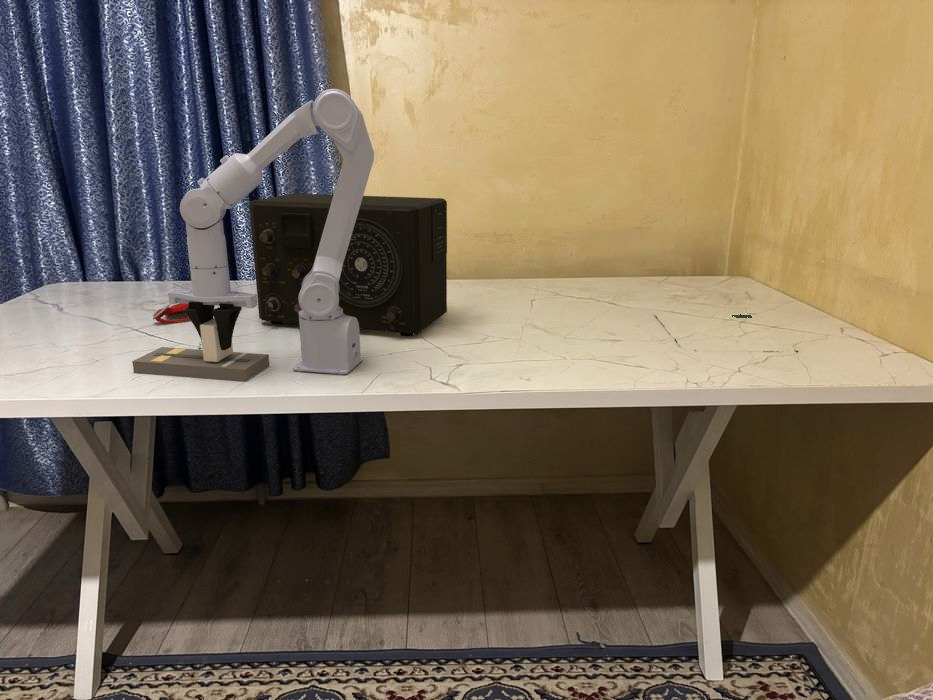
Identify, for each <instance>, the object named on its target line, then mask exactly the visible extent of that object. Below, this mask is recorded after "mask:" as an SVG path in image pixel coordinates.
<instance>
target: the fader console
mask: <svg viewBox="0 0 933 700" xmlns="http://www.w3.org/2000/svg"><path fill="white" fill-rule="evenodd" d="M131 362H132V368H133V373H134V374H144V375H145V374H147V375H158V376H160V375H161V376H173V377H183V378H184V377H185V378H197V379H208V378H209V380H210V379H211V380H223V381H236V382H248V381H249V380H251V379H252V378H253V377H255V376H256V375H259V374H260V373H261V372H262V371H264V370H265V369H267V368H268V367H270V356H269V354H264V353H255V352H254V353H253V352H252V353H251V352H240V351H239V352H237V351H233V353H232V354H230V355H228V356H227V357H225V358H223V359H222V360H220V361H218V362H212V361H204V357H203V349H196V348H181V347H168V346H167V347H165V346H161V347H158V348H157V349H154V350H152V351H151V352H149V353H146V354H144V355H142V356H140V357H138V358H136V359H134V360H132V361H131Z"/></svg>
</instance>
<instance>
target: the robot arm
mask: <svg viewBox="0 0 933 700" xmlns="http://www.w3.org/2000/svg"><path fill="white" fill-rule="evenodd" d="M319 128H320V129H321V130H322V131H323V132H324V133H325V134H326V135H327V136H329V137H330V138H331V139H332V140H333V143H334V145H335V146H336V149H337V150H338V152H339V154H340V155H341V157H342V160H343V161H342V164H341V167H340V172H339V175H338V179H337V182H336V186H335V189H334V192H333V194H332V195H333V199H332V202H331V206H330V209H329V213H328V216H327V220H326V223H325V227H324V230H323V234H322V237H321V241H320V244H319V248H318V251H317V255H316V258H315V261H314V265H313V268H312V270H311V271H310V272H309V273H308V274H307V275H306V276H305V278H304V280H303V282H302V288H301V290H300V293H299V298H298V299H299V305H300V307H301V309H302V310H301V311H299V324H298V325H299V338H300V340H299V341H300V352H301V361H300V362H298V363H296V364H295V365H294V366H293V367H292V371H296V372H310V373H322V374H324V373H325V374H334V375H335V374H336V375H347V374H348V373H349V372H351V371H352V370H353V369H355V367H356V366H358V364H359V363H361V362H362V361H363V358H362V357H361V338H360V337H361V334H360V333H361V332H360V329H359V323H358V320H357V318H355V317H352V316H347V315H345V314H343V309H342V308H340V306H339V305H338V304H339V295H338V294H339V279H340V275H341V271H342V266H343V262H344V259H345V256H346V252H347V249H348V245H349V242H350V239H351V235H352V232H353V229H354V225H355V222H356V218H357V215H358V212H359V208H360V205H361V201H362V198H363V196H365V195H364V194H365V192H366V188H367V185H368V181H369V178H370V174H371V171H372V167H373V164H374V160H375V152H374V148H373V145H372V141H371V139H370V135H369V132H368V129H367V126H366V122H365V118H364V115H363V112H362V111H361V110H360V108H359V107H358V105H357V104H356V102H355V101H354V100H353V98H352V97H351V96H350V95H349V94H348V93H347V92H345V91H344V90H341V89H339V88H329V89H326V90H324V91H322V92H321V93H319V94H318V95H317V97H316V98H315V101H314V100H313V99H311V100H310V101H308V102H306V103H305V104H303V105H302V106H300V107H299V108H297V109H295V110H294V111H293V112H292V113H290V114H289V115H288V116H287V117H285V119H284V120H283V121H281V122H280V123H279V124H278V125H277V126H276V127H275V128H274V129H273V130H272V131H271V132H270V133H269V134H268V135H267V136H265V137H264V138H263V139H262V140H261V141H260V142H259V143H258V144H257V145H256V146H255V147H254V148H253V149H252V150H251V151H249V152H248V153H247V154H246V153H236V152H235V153H232V154H231V156H229V155H224V156H223V157H222V158H221V159H220V160H219V162H220V163H221V164H220V165H219V166H218V167H217V168H216V169H215V170H214V171H212V172H211V173H210V174H209V175H208V176H207V177H206V178H204V177H200V179H199V180H197V184H198V186H199V187H198V188H193V189H190V190H187V191H186V193H185V195H183V198H182V199H181V201H180V204H179V212H180V215H181V218H182V220H184V222H185V226H186V227H185V230H186V236H187V237H186V242H187V251H188V261H189V269H190V271H189V272H190V279H191V288H192V289H173V290H169V291H167V296H168V304H170V305H176V304H179V303H186V304H189V306H188V308H186V309H185V313H184V314H185V315H186V317H188V318H189V319H190V320H191V321H190V322H191V323H192V325H193V327H194V328H195V330H196V332H197V333H198V334H197V335H198V336H199V338H200V340H201V331H200V325H201V324H203V323H205V322H208V321H210V320H212V319H214V318H215V321H216V325H217V328H218V334H219V343H220V347H221V350H227V349H228V348H230V347H231V342H232V343H233V335H234V331H235V328H236V327H235V326H236V323H237V321H238V318H239V315H240V314H241V312H242V309H243V308H246V309H254V308H255V307H258V298H257V293H250V292H249V293H248V292H243V291H236V290H232V289H231V281H230V271H229V260H228V251H227V249H228V248H227V240H226V236H225V230H224V222H223V221H224V220H223V218H224V217H225V215H226V212H227V210H232V209H233V208H234V207H235V206H237V205H238V204H239V203H240V202H241V201H242V200H244V199H245V197H247V196H248V195H250V193H252V192H253V191H254V190H255V189H256V188H257V187H258V186H260V185H261V183H262V179H263V177H262V173H263V171H264V169H265V168H266V167H267V166H269V165H270V164H271V163H272V162H274V161H275V160H276V159H277V158H278V157H279V156H280V155H282V154H283V153H285V152H286V151H288V149H289V148H290V147H292V146H293V145H294V144H295V143H296V142H298V141H299V140H300V139H302V138H306V137H311V136H314V135H319V134H320V130H319ZM216 306H219V307H217V308H215V307H216ZM242 307H243V308H242ZM201 342H202V340H201Z"/></svg>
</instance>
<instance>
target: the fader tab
mask: <svg viewBox="0 0 933 700" xmlns="http://www.w3.org/2000/svg"><path fill="white" fill-rule="evenodd" d="M200 331H201V338H200V340H202V341H201V346H202V347H201V348H202V349H201V350H203V357H204V361H212V362H218V361H220V360H222V359H223V358H225V357H227V356H228V355H230V354H232V353H233V352H234V348H233V341H232V342H231V347H230V348H228V349H227V350H221V347H220V343H219V334H218V328H217V325H216V321H215V318H214V317H213V319H212V320H210V321H208V322H205V323H203V324H201V325H200Z"/></svg>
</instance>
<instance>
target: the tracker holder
mask: <svg viewBox="0 0 933 700" xmlns="http://www.w3.org/2000/svg"><path fill="white" fill-rule="evenodd" d="M188 306H189V304H186V303H176V304H172V305H171V304H169V303H168V304H167V305H166V306H165V307H163V308H158V309H157V310H156V311H155V312H154V313H153V314H152V319H153V320H156V322H159V323H161V324H175V323H176V324H177V323H184V322H191V320H190V319H189V317H188V318H181V319H164V318H162V317H164V316H165V317H170V316H175V315H182V314H185V309H186V308H188Z"/></svg>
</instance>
